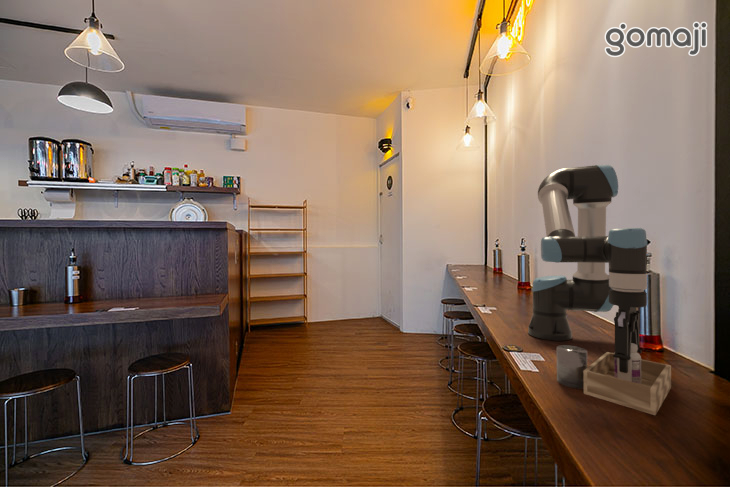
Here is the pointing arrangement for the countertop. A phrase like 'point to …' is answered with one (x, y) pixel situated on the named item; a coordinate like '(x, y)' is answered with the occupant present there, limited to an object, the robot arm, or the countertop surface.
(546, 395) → the countertop surface
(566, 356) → the tin can
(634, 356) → the pill bottle
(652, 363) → the caddy
